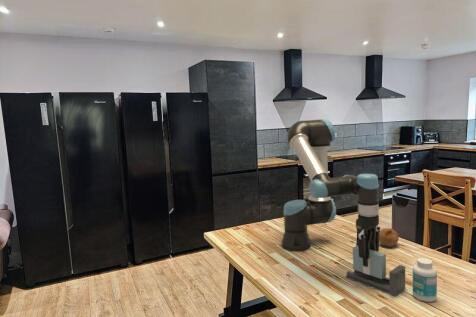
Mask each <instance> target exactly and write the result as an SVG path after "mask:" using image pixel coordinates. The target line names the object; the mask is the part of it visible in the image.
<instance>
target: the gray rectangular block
mask: <svg viewBox="0 0 476 317" xmlns="http://www.w3.org/2000/svg"><path fill="white" fill-rule="evenodd" d="M369 258H370V269H371V276H374V277H377V278H380V279H383V278H385V277H387V254H386V253H384V252H381V251H374V250H371V249H369ZM352 265H353V266H352V269H353V270H354V269H355V270H357V271H360V272H363V258H361V257H359V250H358V246H356V245H355V246H354V247H352Z"/></svg>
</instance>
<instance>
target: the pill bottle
mask: <svg viewBox="0 0 476 317" xmlns="http://www.w3.org/2000/svg"><path fill="white" fill-rule="evenodd" d="M433 265H434V263H433V260H431V259H429V258H426V257H418V258H417V259H416V264H414V265H413V266H412V295H413V297H415V298H416V299H418V300H419V301H422V302H429V303H430V302H435V301H436V300H437V296H438V271H437V269H436V267H434V266H433Z"/></svg>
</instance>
